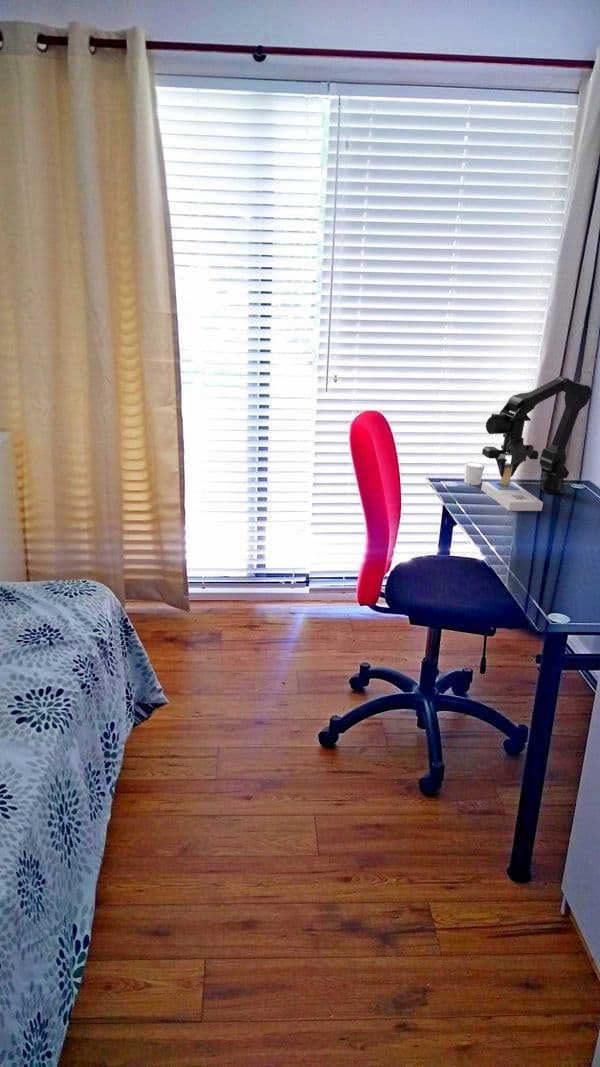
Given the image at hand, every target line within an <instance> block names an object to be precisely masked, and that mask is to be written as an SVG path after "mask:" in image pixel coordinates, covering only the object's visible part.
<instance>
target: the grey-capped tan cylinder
mask: <svg viewBox="0 0 600 1067" xmlns="http://www.w3.org/2000/svg"><path fill="white" fill-rule="evenodd" d="M512 468H513V464H511V462H506V463H505V467H504V474H503V477H501V476H500V481H499V482H500V487H509V484H510V482H511V480H512V477H511V473H512Z"/></svg>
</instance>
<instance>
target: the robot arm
mask: <svg viewBox="0 0 600 1067" xmlns="http://www.w3.org/2000/svg"><path fill="white" fill-rule="evenodd" d="M561 392H564V405H565V407H564V410H563V412H562V416H561V417H560V421H559V423H558V426H557V427H556V428H557V429H556V431H555V434H554V437H553V440H552V442H551V444H550V446H549V447H548V448H543V449H542V452H541V454H540V457H539V452H538V450H536V449H535V447H534V446H533V444H524V441H525V440H524V437H523V432H524V428H525V423H526V422H530V421H531V418H530V417H529V416H528V414H529V413H530V412H532V411H534V409H535V408H536V406H537V405H538V404H540V403H541V402H543V401H547V400H548V399H549V398H551V397H553V396H555V395H557V394H560V393H561ZM592 393H593V391H592V387H591V386H590V385H587V384H584V383H581V382H576V381H573V380H571V379H570V378H567V377H564V376H562V375H561V376H557V377H556V378H554V379H553V380H551V381H549V382H547V383H545V384H543V385H541V386H539V387H537V388H535V389H534V390H531V391H528V392H520V393H517V394H514V395H512V396H510V397H509V398H508V401H507V402H506V404H505V405H504V406H503V407H502V408H501V409H500V411H499V412H498V413H491V416H490V417H489V418H488V419H487V420H486V422H485V429H486V432H487V433H488V435H499V434H500V435H502V437H503V438H504V439H503V443H502V445H501V446H500V449H498V448H497V447H495V446H484V447H483V448H482V450H481V451H482V452H481V454H482V456H485V457H486V458H487V459H495V461H496V465H497V467H498V472H499V475H500V478H501V477H503V474H504V467H505V463H507V462H508V459H507V458H506V456H510V457H511V459H510V464H513V468H512V473H511V478H512V477H513V475H515V472H516V471H517V469H518V467H519V466H520V465H521V463H524V462H526V461H527V458H528V459H529V460H538V459H539V465H540V467H541V468H540V470H541V472H542V473H543V477H542V478H541V483H540V486H538V488H539V489H540V490H541V491H543V492H544V493H546V494H558V495H559V494H564V491H562V487H563V484H564V483H563V482H564V479H567V478H568V476H569V474H570V472H569V470H568V468H567V467H566V461H567V454H566V449H567V448H566V447H567V446H568V443H569V439H570V437H571V435H572V431H573V429H574V427H575V424H576V420H577V418H578V417H579V413H580V411H581V410H582V409H583V408H585V407H586V405H587V404H588V403H589V400H590V398H591V396H592Z"/></svg>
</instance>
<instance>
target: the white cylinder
mask: <svg viewBox="0 0 600 1067" xmlns="http://www.w3.org/2000/svg"><path fill="white" fill-rule="evenodd" d="M464 466H465V467H464V478H463V479H464V484H466V483H467V485H470V484H471V486H479V485H480V484H481V482H482V476H483V475H484V474H483V473H484V471H485V470H484V469H485V464H483V463H479V462H475V461H467V462H466V463H465V464H464Z"/></svg>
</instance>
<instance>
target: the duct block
mask: <svg viewBox="0 0 600 1067" xmlns="http://www.w3.org/2000/svg"><path fill="white" fill-rule="evenodd" d="M481 482H482V483H481V488H480V490H481V491H482V492H484V493H485V494H486V495H487V496H489V497H490V498H492V499H493V500H494V501H495V502H497V503H498V504H499V505H501V506H502V507H503V508H504V509H506V510H507V511H511V512H514V511H515V512H525V511H527V512H533V511H535V512H541V511H542V510H543V505H544V502H543V501H542V500H540V499H539V498H538V497H536V496H534V495H533V494H531V493H530V492H529V491H527V490H526V489H525V488H523V487H521V485H519V484H517V483H516V482H514V481H510V484H509V487H500V482H501V481H481Z"/></svg>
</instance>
